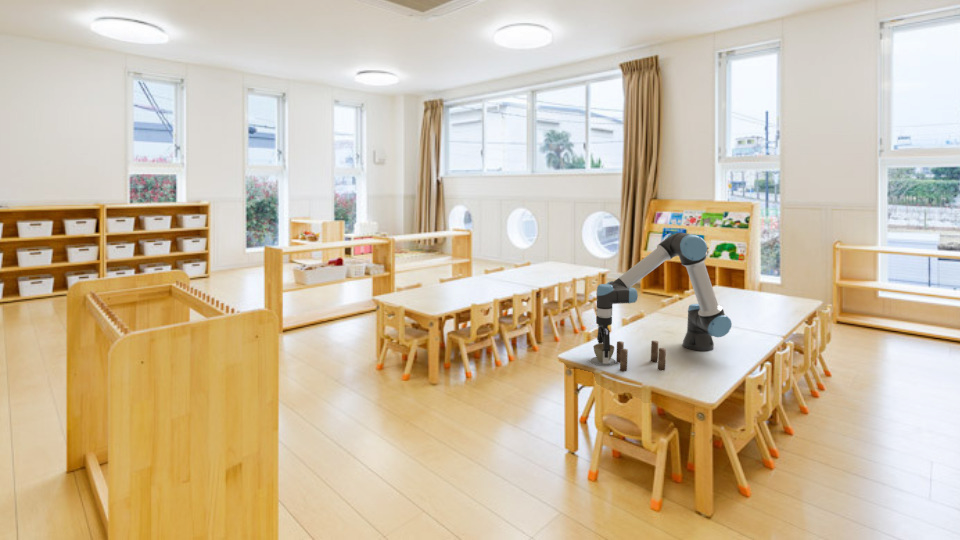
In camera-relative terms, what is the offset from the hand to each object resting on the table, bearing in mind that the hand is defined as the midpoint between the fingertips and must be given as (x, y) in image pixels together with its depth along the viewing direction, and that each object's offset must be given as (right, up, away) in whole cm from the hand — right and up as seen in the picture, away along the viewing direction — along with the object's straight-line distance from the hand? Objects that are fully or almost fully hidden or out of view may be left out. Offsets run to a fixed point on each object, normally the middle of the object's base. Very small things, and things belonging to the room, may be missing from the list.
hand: (603, 359), depth 258 cm
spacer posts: (+16, -2, -6) cm, 17 cm away
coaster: (0, -1, 0) cm, 1 cm away
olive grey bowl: (0, -1, 0) cm, 1 cm away
